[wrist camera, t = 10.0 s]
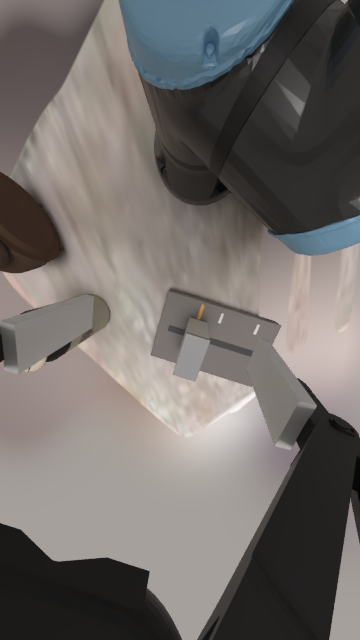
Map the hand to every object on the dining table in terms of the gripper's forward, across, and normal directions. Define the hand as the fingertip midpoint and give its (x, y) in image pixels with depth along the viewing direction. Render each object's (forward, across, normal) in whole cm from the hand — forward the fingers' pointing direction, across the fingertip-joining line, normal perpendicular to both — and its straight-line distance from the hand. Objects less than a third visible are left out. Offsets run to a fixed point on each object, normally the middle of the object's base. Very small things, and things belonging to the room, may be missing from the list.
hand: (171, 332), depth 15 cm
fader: (+21, +3, -9) cm, 23 cm away
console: (+24, +6, -9) cm, 27 cm away
